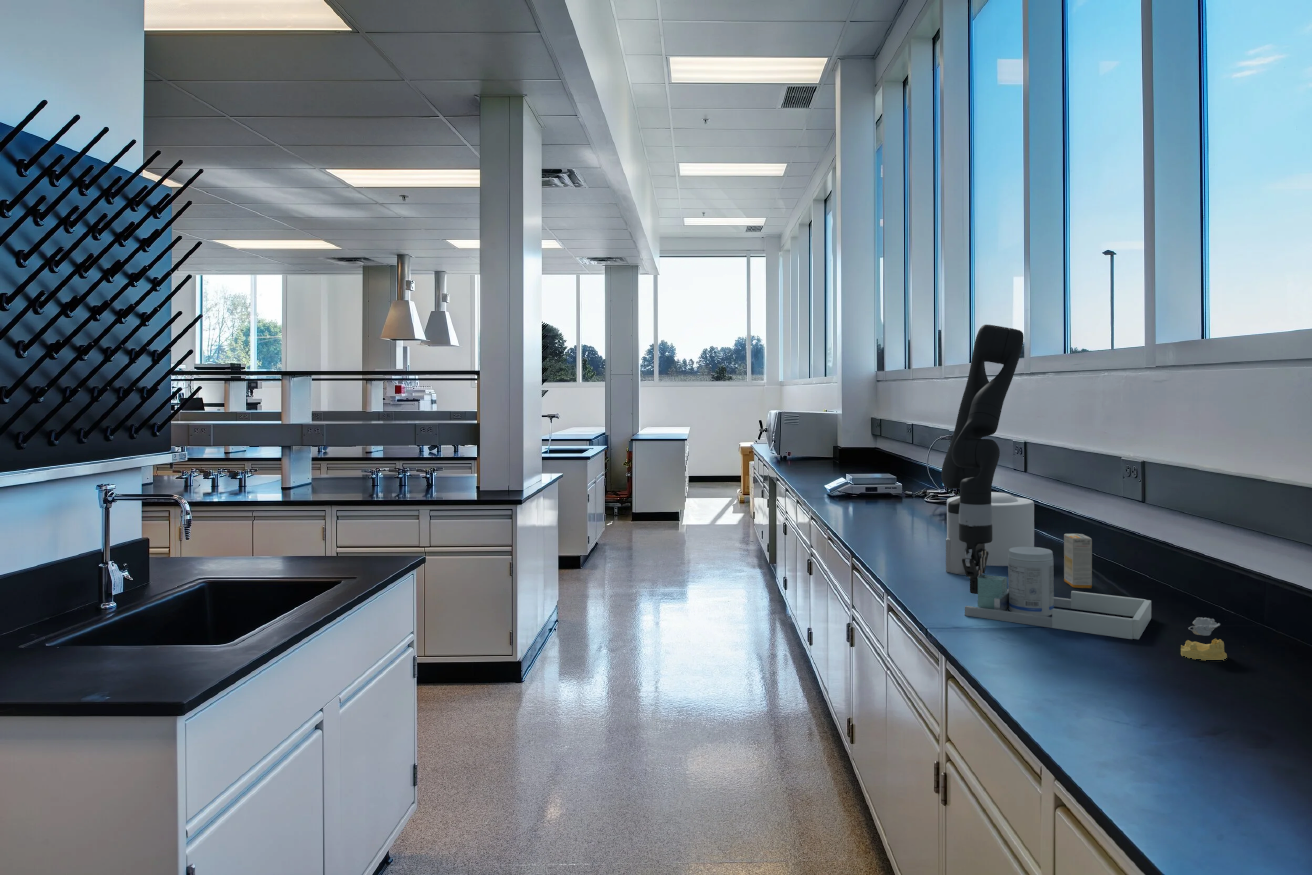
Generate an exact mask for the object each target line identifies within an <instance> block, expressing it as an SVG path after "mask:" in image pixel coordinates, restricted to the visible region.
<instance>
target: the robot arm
mask: <svg viewBox="0 0 1312 875" xmlns="http://www.w3.org/2000/svg"><path fill="white" fill-rule="evenodd" d="M1024 339H1025V338H1024V332H1023V331H1022V330H1020V329H1016V328H1011V327H1005V326H1002V325H1001V326H1000V325H993V324H983V325H982V326H980V328H979V330H978V332H977V334H976V336H975V340H974V341H975V342H974V346H973V351H972V355H971V362H970V367H969V372H968V376H967V382H966V385H965V387H964V391H963V395H962V396H961V397H962V398H961V401H960V404H959V409H958V413H957V417H956V422H955V427H954V431H953V434H952V438H951V441H950V444H949V446H948V449H947V451H946V454H945V457H944V459H943V461H942V462H943V463H942V466H941V473H940V474H941V481H942V484H943V485H944V487H945V488H947V489H952V490H959V496H960V498H958V499H955V500H953V501H951V502H949V504H948V538H947V537H946V539H945V573H950V574H955V575H960V576H961V575H962V576H966V577H968V579H969V593H970V594H972V595H978V577H981V576H983V575H985V572H986V566H987V565H986V563H987V559H988V555H989V553H988V551H986V549H985V544H986V543H990V542H992V506H991V492H992V487H993V486H992V485H993V481H994V476H995V473H996V469H997V466H998V462H999V460H1000V456H1001V455H1000V454H1001V453H1000V452H1001V450H1000V447H999V445H998V443H997V442H996V441H995V440H994V439H991V438H986V437H990V436H992V435H994V434H995V433H996V432H997V431H998V427H999V422H1000V419H1001V413H1002V409H1003V405H1004V403H1005V399H1006V396H1007V393H1008V391H1009V389H1010V385H1011V383H1012V380H1013V379H1014V378H1013V377H1014V376H1015V372H1016V370H1017V366H1018V364H1019V360H1020V357H1021V355H1022V350H1023V346H1024V342H1025V341H1024ZM985 362H988V363H992V364H998V365H999V364H1000V365H1002V368H1001V369H1000V371H999V372H998V373H997V374H996V376H994V378H992V379H991V380H989V379H988V376H987V372H986V365H985Z"/></svg>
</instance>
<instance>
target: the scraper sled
mask: <svg viewBox="0 0 1312 875" xmlns="http://www.w3.org/2000/svg"><path fill="white" fill-rule="evenodd" d="M1007 582H1008V577H1007V576H999V575H990V574H983V576H981V577H978V594H977V607H980V608H987V609H994V610H1002V611H1010V610H1009V587H1008V585H1007V584H1008V583H1007Z"/></svg>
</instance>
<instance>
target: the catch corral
mask: <svg viewBox="0 0 1312 875" xmlns="http://www.w3.org/2000/svg"><path fill="white" fill-rule="evenodd" d="M1070 599H1071V609H1072V610H1071V609H1070V610H1068V609H1061V608H1055V607H1054V608H1053V609H1052V615H1051V617H1052V628H1051V629H1056V630H1057V629H1058V630H1065V631H1071V632H1078V633H1086V634H1092V635H1098V636H1106V637H1107V636H1108V637H1112V638H1113V637H1114V638H1121V639H1128V640H1133V639H1134V640H1140V638H1141V636H1142V635H1143V632H1144V631H1145V630H1146V627H1147V626H1148V624H1149V623H1150V621H1151V619H1152V600H1150V599H1144V598H1137V597H1129V596H1121V595H1111V594H1102V593H1095V592H1086V591H1085V592H1084V591H1076V590H1071V591H1070ZM1075 610H1077V611H1075ZM1078 610H1080V611H1078ZM1083 611H1087V612H1083ZM1092 612H1095V613H1092ZM1099 613H1102V614H1099ZM1106 614H1107V615H1106ZM1108 614H1109V615H1108ZM1115 615H1117V616H1115ZM1121 616H1123V617H1121ZM1130 617H1132V618H1130Z"/></svg>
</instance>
